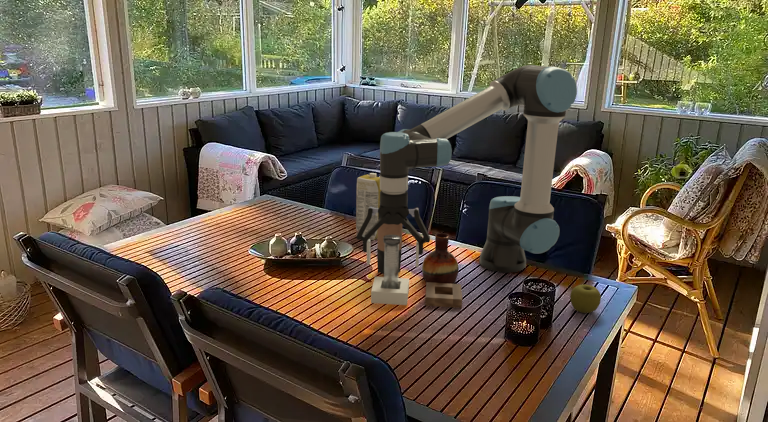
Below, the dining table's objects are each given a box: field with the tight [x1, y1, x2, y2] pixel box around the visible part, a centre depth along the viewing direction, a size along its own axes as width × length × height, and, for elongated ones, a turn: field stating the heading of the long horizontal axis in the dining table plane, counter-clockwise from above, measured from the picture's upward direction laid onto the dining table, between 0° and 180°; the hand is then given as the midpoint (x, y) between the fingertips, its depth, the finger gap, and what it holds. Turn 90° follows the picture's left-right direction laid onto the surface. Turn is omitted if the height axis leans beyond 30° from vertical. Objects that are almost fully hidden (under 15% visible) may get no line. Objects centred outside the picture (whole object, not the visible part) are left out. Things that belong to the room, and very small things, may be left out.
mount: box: [424, 281, 463, 309], centre depth 159 cm, size 10×10×4 cm
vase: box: [421, 232, 460, 284], centre depth 170 cm, size 11×11×15 cm
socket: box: [370, 276, 410, 306], centre depth 160 cm, size 10×10×4 cm
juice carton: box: [355, 172, 382, 241], centre depth 207 cm, size 9×8×24 cm
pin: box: [383, 235, 401, 289], centre depth 157 cm, size 5×5×17 cm
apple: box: [569, 284, 602, 314], centre depth 155 cm, size 8×8×7 cm
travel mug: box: [376, 214, 403, 275], centre depth 175 cm, size 8×8×20 cm
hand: (392, 263), depth 157 cm, fingers open, 13 cm apart
